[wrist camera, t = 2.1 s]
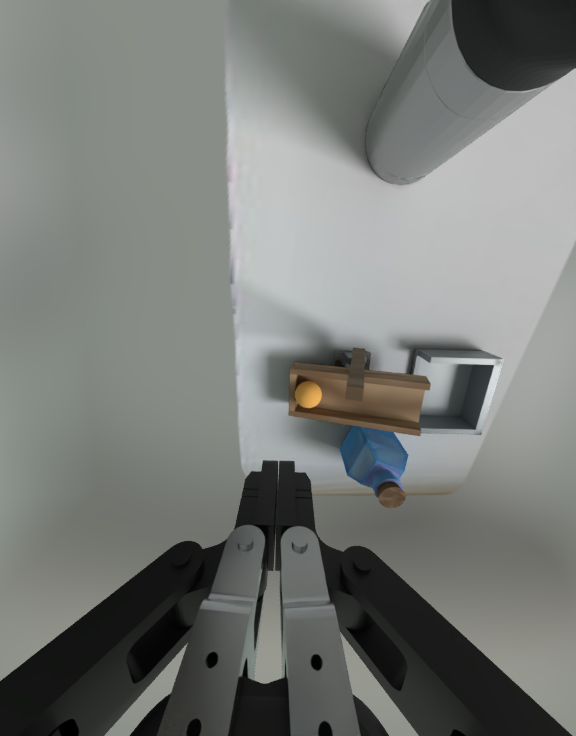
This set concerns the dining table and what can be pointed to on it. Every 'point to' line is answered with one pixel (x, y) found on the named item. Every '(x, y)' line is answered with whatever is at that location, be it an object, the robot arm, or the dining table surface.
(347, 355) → the fulcrum
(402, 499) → the perfume bottle
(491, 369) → the tray
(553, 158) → the dining table surface
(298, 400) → the ball
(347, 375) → the lever
